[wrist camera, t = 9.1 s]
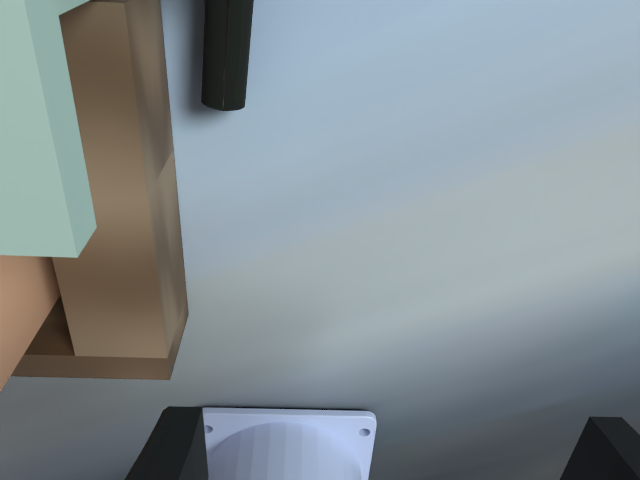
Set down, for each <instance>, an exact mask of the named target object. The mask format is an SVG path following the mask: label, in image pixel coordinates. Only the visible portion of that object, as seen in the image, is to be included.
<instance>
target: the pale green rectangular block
mask: <svg viewBox="0 0 640 480" xmlns="http://www.w3.org/2000/svg"><path fill="white" fill-rule="evenodd" d="M87 1H89V0H0V255H12V256H42V257H73V258H78V256H79V255H80V253H81V251H82V250H83V248H84V247H85V245H86V244H87V242H88V240H89V239H90V237H91V236H92V234H93V233H94V231H95V229H96V228H97V225H96V220H95V214H94V209H93V203H92V198H91V192H90V187H89V181H88V176H87V170H86V165H85V159H84V154H83V148H82V143H81V137H80V131H79V126H78V120H77V115H76V109H75V104H74V98H73V93H72V87H71V82H70V76H69V71H68V65H67V60H66V54H65V49H64V43H63V37H62V32H61V26H60V21H59V15H61V14H63V13H65V12H67V11H69V10H71V9H73V8H75V7H77V6H79V5H81V4H83V3H85V2H87Z"/></svg>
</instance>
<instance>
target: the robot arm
mask: <svg viewBox="0 0 640 480" xmlns="http://www.w3.org/2000/svg"><path fill="white" fill-rule="evenodd" d="M205 425H208V426H205ZM376 425H377V423H376V416H375V415H374V413H372V412H369V411H347V410H301V409H255V408H209V407H207V408H202V407H172V406H169V407H167V408H166V409H165V410H163V412H162V414H161V416H160V418H159V420H158V422H157V424H156V426H155V428H154V430H153V431H152V433H151V435H150V437H149V439H148V441H147V442H146V444H145V446H144V448H143V450H142V451H141V453H140V455H139V456H138V458H137V460H136V462H135V463H134V465H133V467H132V468H131V470H130V472H129V473H128V475H127V477H126V478H125V480H368V476H369V470H370V464H371V457H372V451H373V444H374V438H375V432H376ZM560 480H640V435H639V434H638V433H637V432H636V431H635V430H634V429H633V428H632V427H631V426H630V425H629V424H628V423H627V422H626V421H625V420H624V419H623V418H622V417H589V419H588V421H587V423H586V425H585V428H584V430H583V432H582V434H581V436H580V438H579V440H578V442H577V444H576V447H575V449H574V451H573V453H572V455H571V457H570V459H569V461H568V463H567V466H566V468H565V470H564V472H563V474H562V476H561V478H560Z"/></svg>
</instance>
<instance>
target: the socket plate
mask: <svg viewBox="0 0 640 480" xmlns="http://www.w3.org/2000/svg"><path fill="white" fill-rule="evenodd" d="M59 21H60V26H61V32H62V37H63V43H64V49H65V54H66V60H67V65H68V71H69V76H70V82H71V87H72V93H73V98H74V104H75V109H76V115H77V120H78V126H79V131H80V137H81V143H82V148H83V154H84V159H85V165H86V170H87V176H88V181H89V187H90V192H91V198H92V203H93V209H94V214H95V220H96V225H97V228H96V229H95V231H94V233H93V234H92V236H91V237H90V239H89V240H88V242H87V244H86V245H85V247H84V248H83V250H82V251H81V253H80V255H79V256H78V258H73V257H52V260H53V264H54V268H55V272H56V276H57V281H58V285H59V289H60V293H61V295H60V296H59V298H58V299H57V301H56V303H55V304H54V306H53V308H52V309H51V311H50V312H49V314H48V316H47V317H46V319H45V321H44V322H43V324H42V325H41V327H40V329H39V330H38V332H37V334H36V335H35V337H34V338H33V340H32V342H31V343H30V345H29V347H28V348H27V350H26V351H25V353H24V355H23V356H22V358H21V360H20V361H19V363H18V364H17V366H16V368H15V369H14V371H13V373H12V374H11V376H26V377H68V378H110V379H152V380H170V378H171V374H172V371H173V367H174V364H175V360H176V357H177V353H178V350H179V346H180V343H181V339H182V336H183V332H184V328H185V325H186V321H187V318H188V304H187V293H186V282H185V270H184V259H183V248H182V237H181V226H180V215H179V204H178V193H177V182H176V170H175V159H174V148H173V137H172V126H171V115H170V104H169V93H168V81H167V70H166V59H165V48H164V37H163V26H162V15H161V4H160V0H89V1H87V2H85V3H83V4H81V5H79V6H77V7H75V8H73V9H71V10H69V11H67V12H65V13H63V14H61V15H59Z"/></svg>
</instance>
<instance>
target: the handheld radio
mask: <svg viewBox="0 0 640 480" xmlns="http://www.w3.org/2000/svg"><path fill="white" fill-rule="evenodd" d="M253 1H254V0H206V1H205V25H204V49H203V73H202V97H201V102H202V103H203V104H204V105H205V106H207V107H210V108H213V109H217V110H222V111H232V110H239V109H242V108H244V107H245V98H246V86H247V74H248V62H249V49H250V37H251V25H252V13H253Z"/></svg>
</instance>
